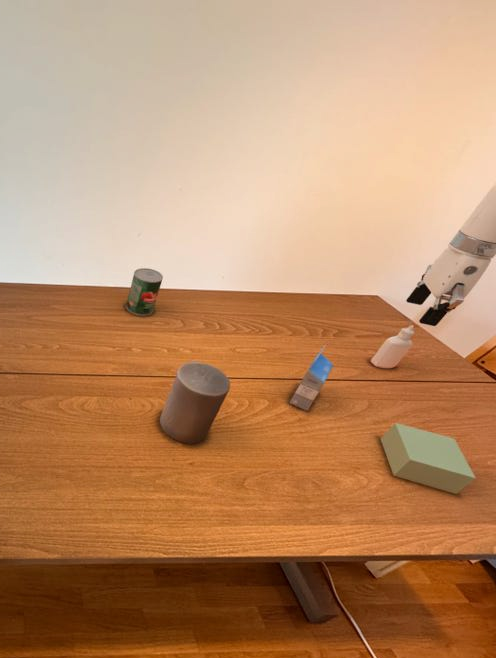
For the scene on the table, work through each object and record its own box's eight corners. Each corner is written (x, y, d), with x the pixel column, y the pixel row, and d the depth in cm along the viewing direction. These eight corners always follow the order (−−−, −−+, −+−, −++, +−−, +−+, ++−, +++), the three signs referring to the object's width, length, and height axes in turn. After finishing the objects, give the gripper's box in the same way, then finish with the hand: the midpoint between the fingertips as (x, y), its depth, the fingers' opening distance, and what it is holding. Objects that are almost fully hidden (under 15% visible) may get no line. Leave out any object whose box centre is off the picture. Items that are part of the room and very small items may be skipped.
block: (437, 454, 85) (454, 438, 82) (456, 494, 78) (476, 478, 75) (380, 438, 88) (395, 422, 85) (393, 475, 81) (410, 459, 77)
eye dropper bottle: (396, 372, 105) (428, 334, 98) (370, 365, 107) (399, 326, 100) (393, 363, 108) (424, 324, 101) (368, 356, 110) (396, 318, 103)
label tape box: (306, 411, 93) (336, 369, 85) (287, 402, 95) (314, 360, 87) (316, 392, 98) (345, 351, 90) (298, 384, 100) (324, 343, 92)
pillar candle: (215, 442, 85) (244, 388, 76) (171, 446, 84) (194, 392, 74) (192, 407, 92) (216, 354, 83) (151, 411, 91) (170, 357, 81)
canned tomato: (147, 319, 119) (157, 284, 112) (121, 309, 122) (129, 275, 115) (156, 307, 125) (166, 273, 118) (131, 298, 128) (140, 265, 121)
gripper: (517, 265, 80) (452, 337, 91) (479, 233, 92) (426, 299, 103) (470, 257, 82) (412, 328, 93) (439, 226, 94) (391, 292, 105)
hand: (419, 313), depth 98 cm, fingers open, 9 cm apart
